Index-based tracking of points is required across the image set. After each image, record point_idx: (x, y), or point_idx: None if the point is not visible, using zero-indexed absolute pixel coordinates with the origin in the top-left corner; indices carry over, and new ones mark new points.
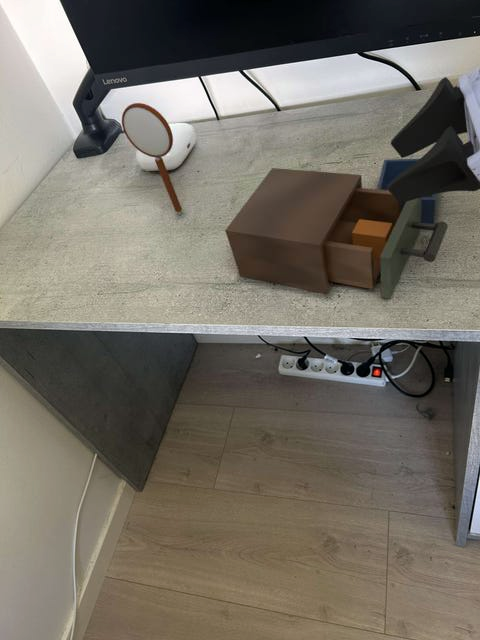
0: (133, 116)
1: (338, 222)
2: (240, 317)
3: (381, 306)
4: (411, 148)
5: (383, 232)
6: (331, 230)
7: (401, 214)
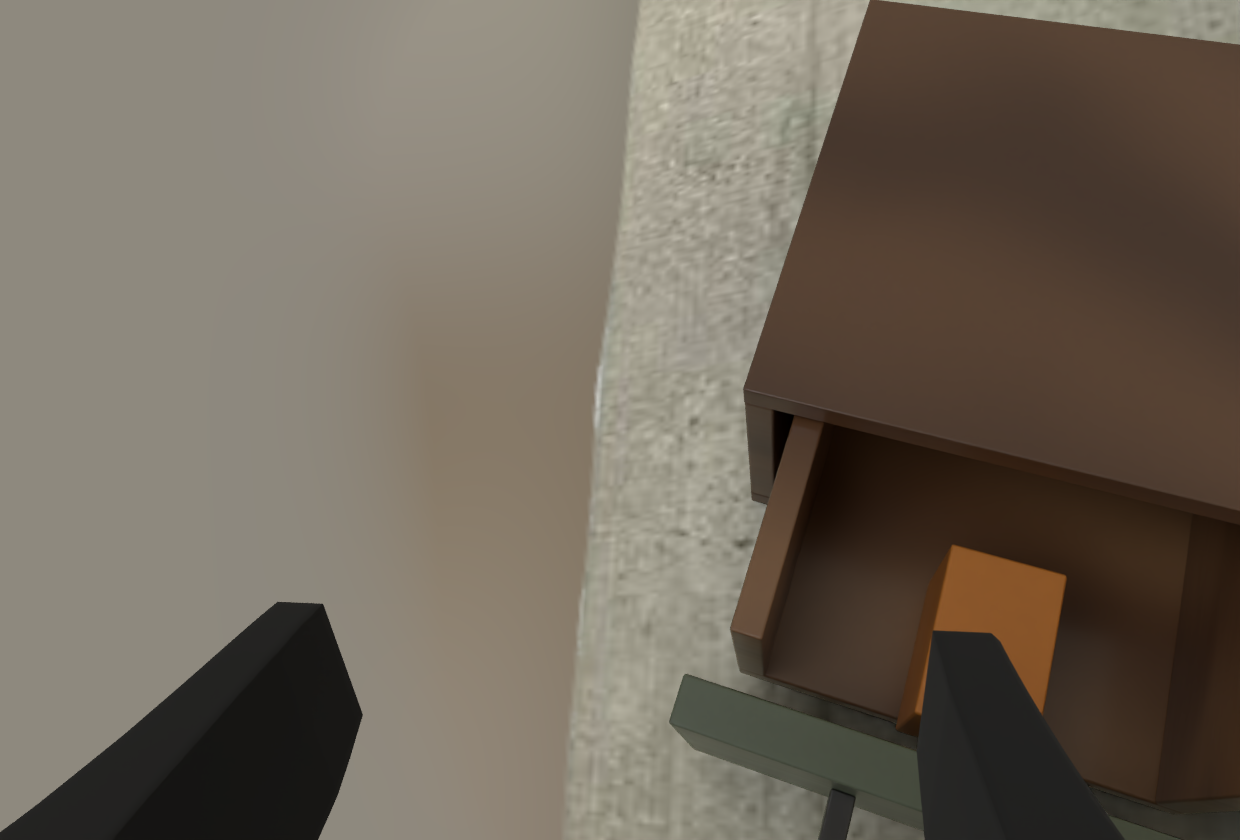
0: None
1: None
2: (647, 227)
3: None
4: (937, 834)
5: None
6: (880, 433)
7: None
